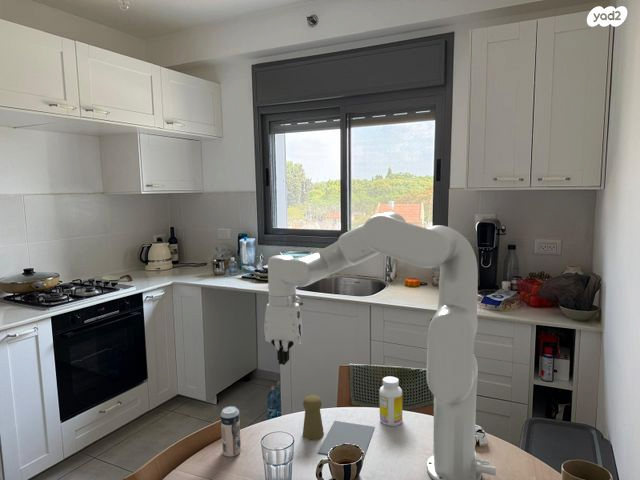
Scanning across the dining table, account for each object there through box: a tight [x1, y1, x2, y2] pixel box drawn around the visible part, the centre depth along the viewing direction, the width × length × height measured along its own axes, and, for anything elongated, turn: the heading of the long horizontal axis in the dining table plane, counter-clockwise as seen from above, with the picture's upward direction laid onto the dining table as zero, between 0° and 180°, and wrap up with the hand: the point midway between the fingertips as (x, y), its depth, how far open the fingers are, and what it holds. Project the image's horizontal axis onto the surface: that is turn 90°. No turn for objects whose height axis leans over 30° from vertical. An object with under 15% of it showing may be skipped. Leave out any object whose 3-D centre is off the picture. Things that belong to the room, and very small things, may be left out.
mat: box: [317, 420, 376, 457], centre depth 118 cm, size 12×16×1 cm
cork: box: [302, 394, 325, 441], centre depth 121 cm, size 6×6×11 cm
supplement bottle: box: [378, 375, 403, 427], centre depth 127 cm, size 7×7×13 cm
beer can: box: [220, 405, 242, 458], centre depth 113 cm, size 5×5×12 cm
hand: (283, 362), depth 122 cm, fingers closed
